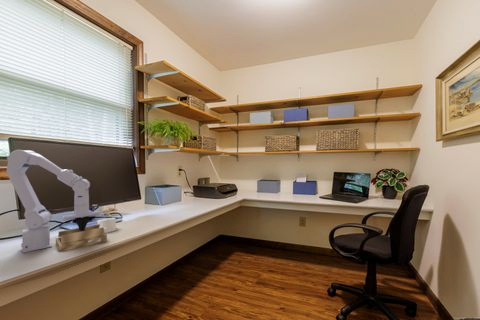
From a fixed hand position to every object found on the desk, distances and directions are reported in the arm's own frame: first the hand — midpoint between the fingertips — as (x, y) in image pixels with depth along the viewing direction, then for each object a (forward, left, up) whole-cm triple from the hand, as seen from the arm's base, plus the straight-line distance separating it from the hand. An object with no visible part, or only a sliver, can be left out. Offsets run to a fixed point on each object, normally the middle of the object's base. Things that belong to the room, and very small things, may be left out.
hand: (82, 233), depth 108 cm
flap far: (0, +7, -2) cm, 7 cm away
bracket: (+8, +12, -6) cm, 16 cm away
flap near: (0, -5, -2) cm, 6 cm away
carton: (0, +1, -5) cm, 5 cm away
